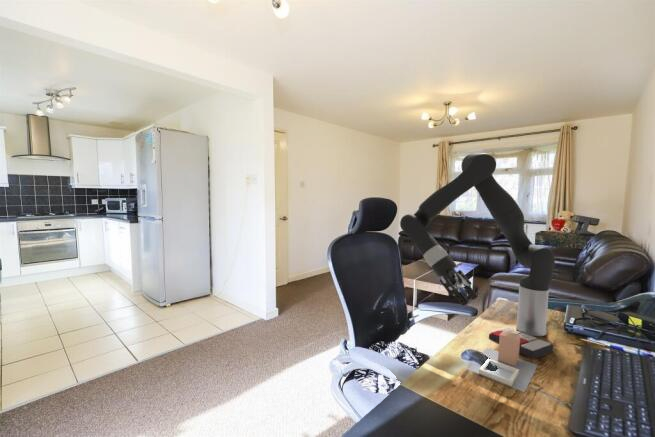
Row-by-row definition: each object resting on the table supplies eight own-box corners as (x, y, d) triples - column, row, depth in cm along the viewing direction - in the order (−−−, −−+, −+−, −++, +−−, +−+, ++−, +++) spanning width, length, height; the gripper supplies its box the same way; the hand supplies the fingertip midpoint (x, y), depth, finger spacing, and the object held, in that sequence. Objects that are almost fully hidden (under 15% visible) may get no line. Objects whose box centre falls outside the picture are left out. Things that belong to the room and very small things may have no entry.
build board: (486, 351, 99) (487, 344, 99) (537, 368, 89) (538, 361, 89) (467, 373, 86) (467, 365, 86) (523, 396, 76) (524, 387, 76)
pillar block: (502, 354, 95) (503, 330, 94) (518, 360, 92) (520, 334, 91) (497, 359, 92) (499, 334, 91) (514, 365, 88) (516, 339, 88)
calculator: (508, 326, 111) (553, 342, 97) (507, 337, 111) (553, 355, 98) (488, 331, 106) (533, 349, 93) (488, 343, 106) (533, 363, 93)
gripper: (438, 257, 98) (472, 300, 91) (455, 252, 109) (487, 290, 102) (422, 269, 103) (453, 312, 95) (440, 264, 113) (469, 301, 106)
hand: (471, 301), depth 98 cm, fingers open, 8 cm apart
